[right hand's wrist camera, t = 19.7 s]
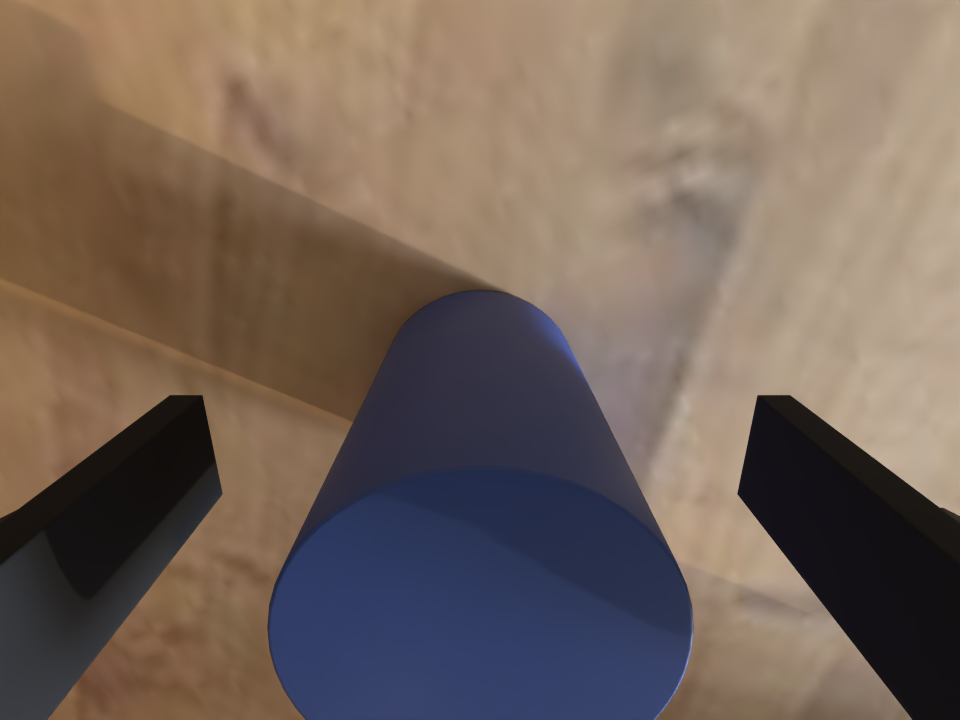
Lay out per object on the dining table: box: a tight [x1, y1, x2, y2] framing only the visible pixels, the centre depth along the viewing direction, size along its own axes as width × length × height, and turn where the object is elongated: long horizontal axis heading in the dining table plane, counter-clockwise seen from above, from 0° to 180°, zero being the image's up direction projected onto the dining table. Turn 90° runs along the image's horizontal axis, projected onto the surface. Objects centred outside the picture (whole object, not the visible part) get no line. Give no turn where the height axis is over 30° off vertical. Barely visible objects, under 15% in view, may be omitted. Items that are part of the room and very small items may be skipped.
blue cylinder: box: [268, 290, 693, 720], centre depth 12 cm, size 6×6×10 cm
